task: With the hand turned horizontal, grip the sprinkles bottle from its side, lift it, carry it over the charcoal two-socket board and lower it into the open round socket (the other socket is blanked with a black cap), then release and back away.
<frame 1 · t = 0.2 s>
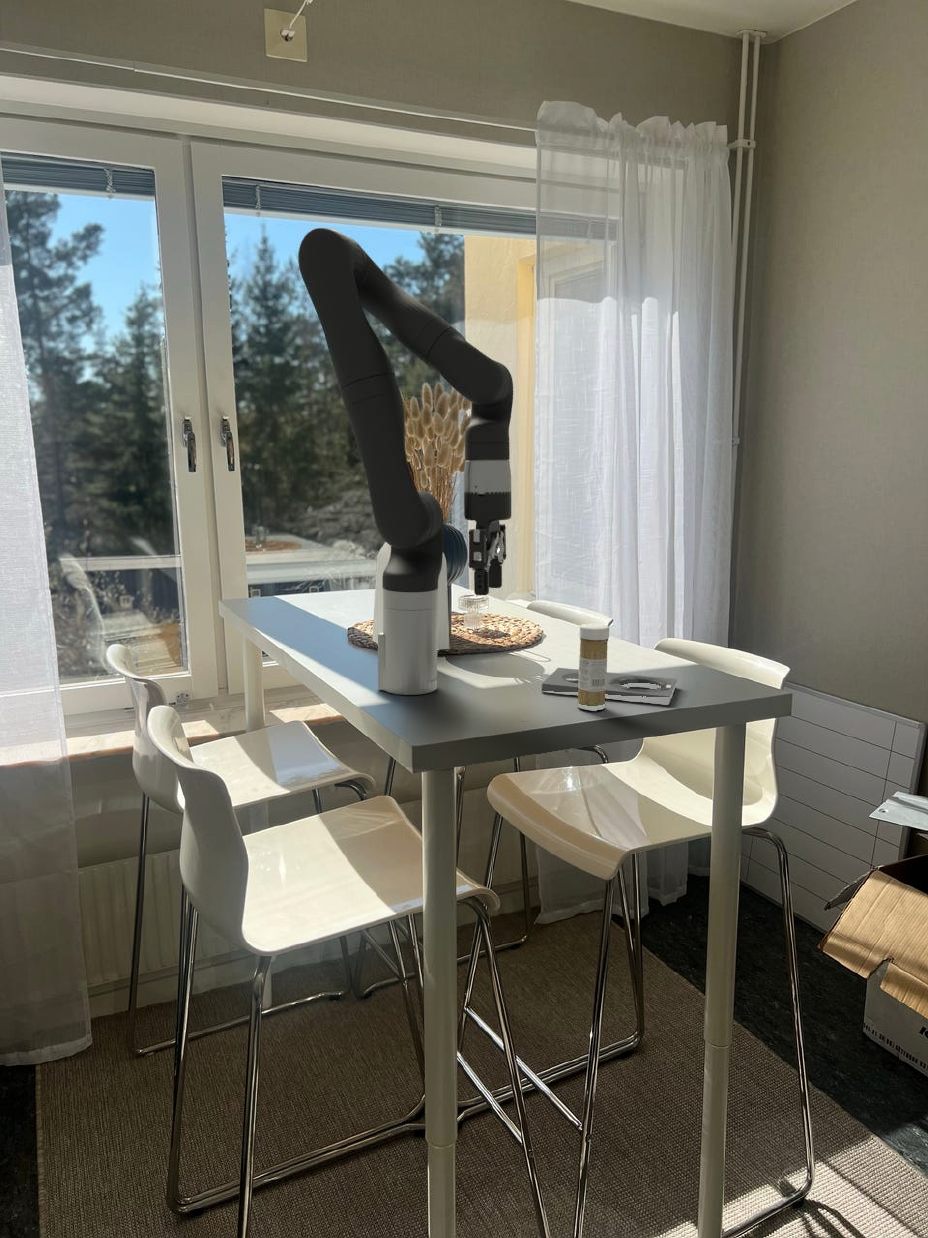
hand: (488, 591, 146), 18 cm above the table, tool pointing down, fingers open, 8 cm apart
milk: (410, 648, 186), on the table
sprinkles bottle: (590, 709, 144), on the table
socket board: (610, 690, 155), on the table
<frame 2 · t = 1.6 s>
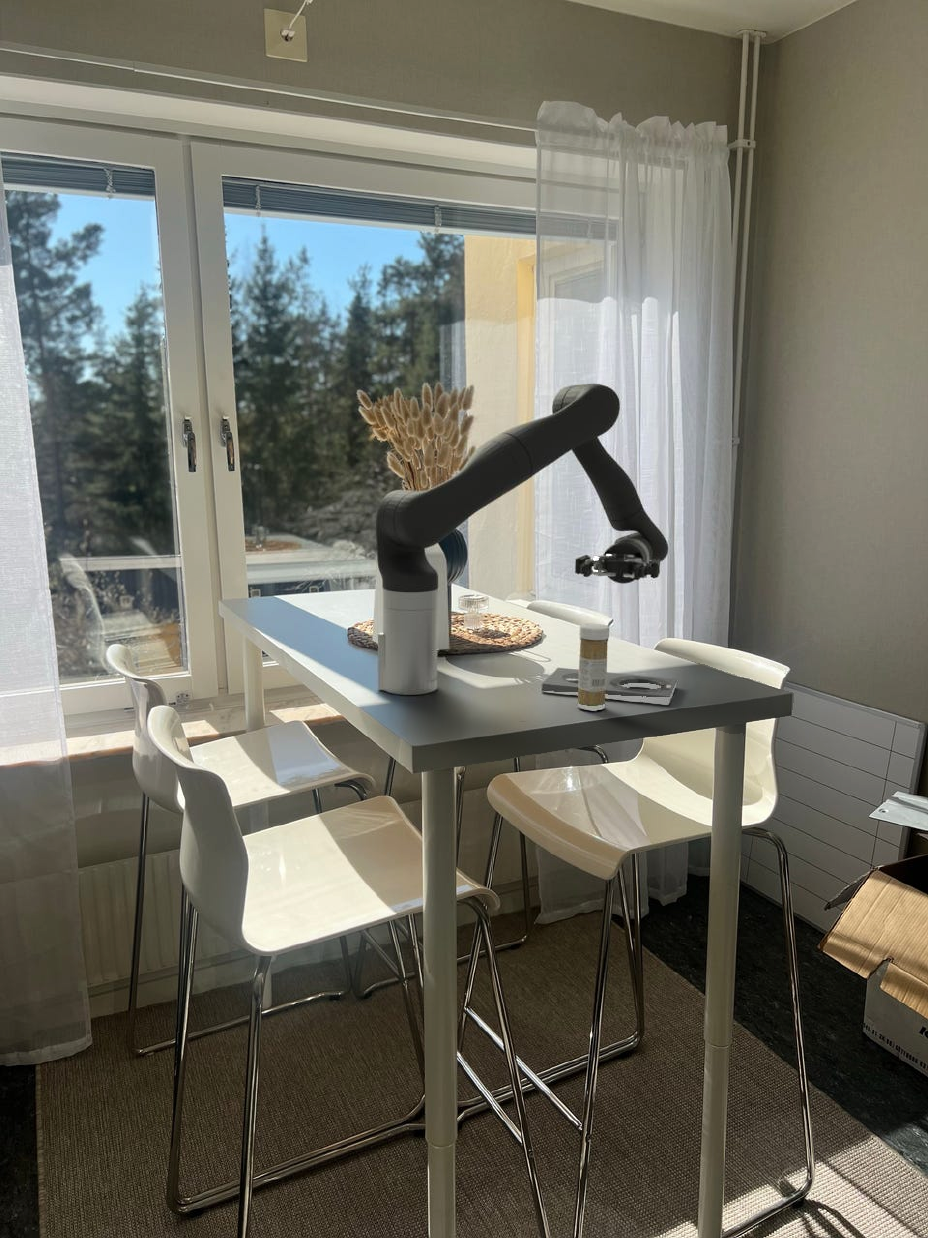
hand: (610, 572, 152), 20 cm above the table, tool horizontal, fingers open, 8 cm apart
nothing on the table moved.
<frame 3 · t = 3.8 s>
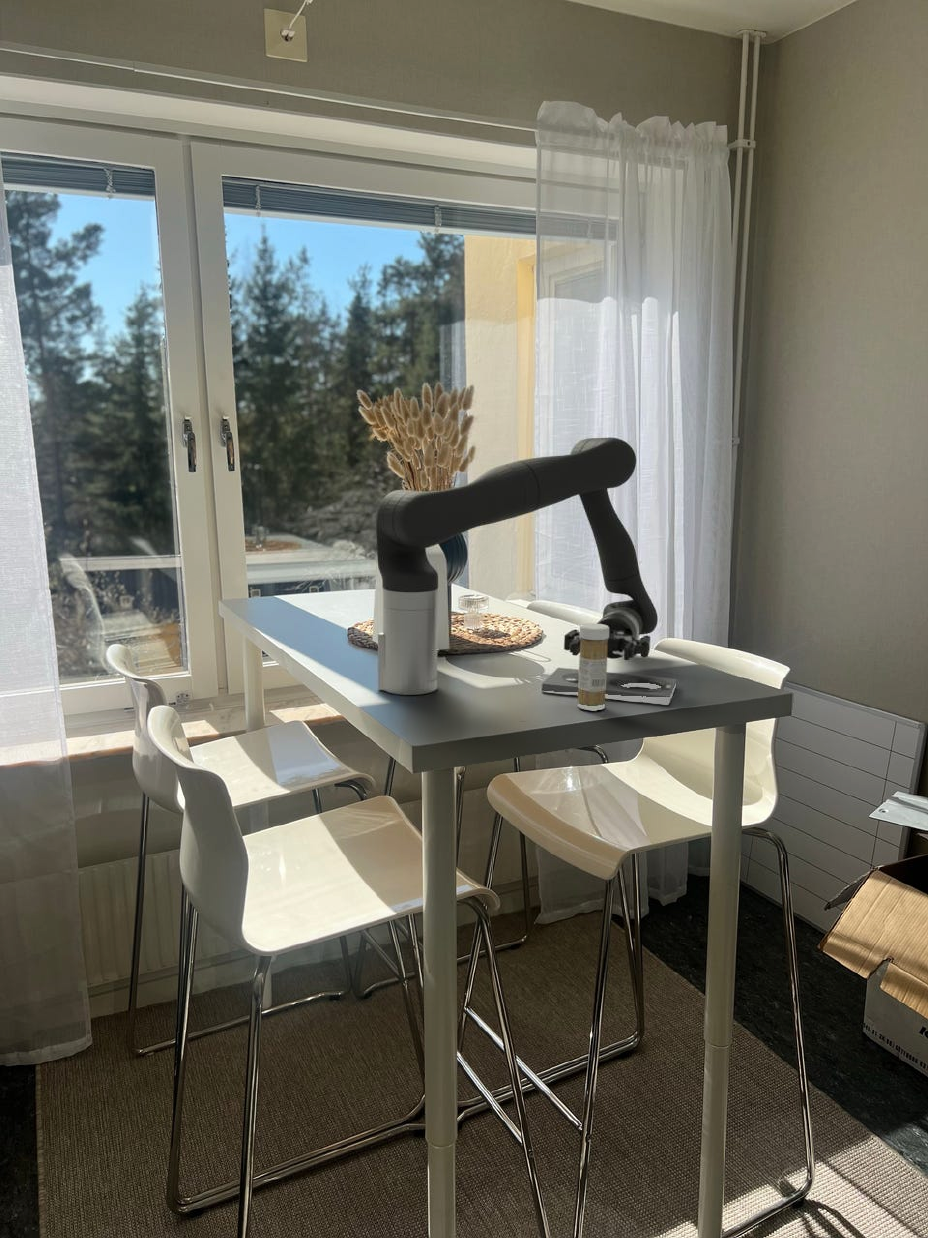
hand: (600, 651, 149), 8 cm above the table, tool horizontal, fingers open, 8 cm apart
nothing on the table moved.
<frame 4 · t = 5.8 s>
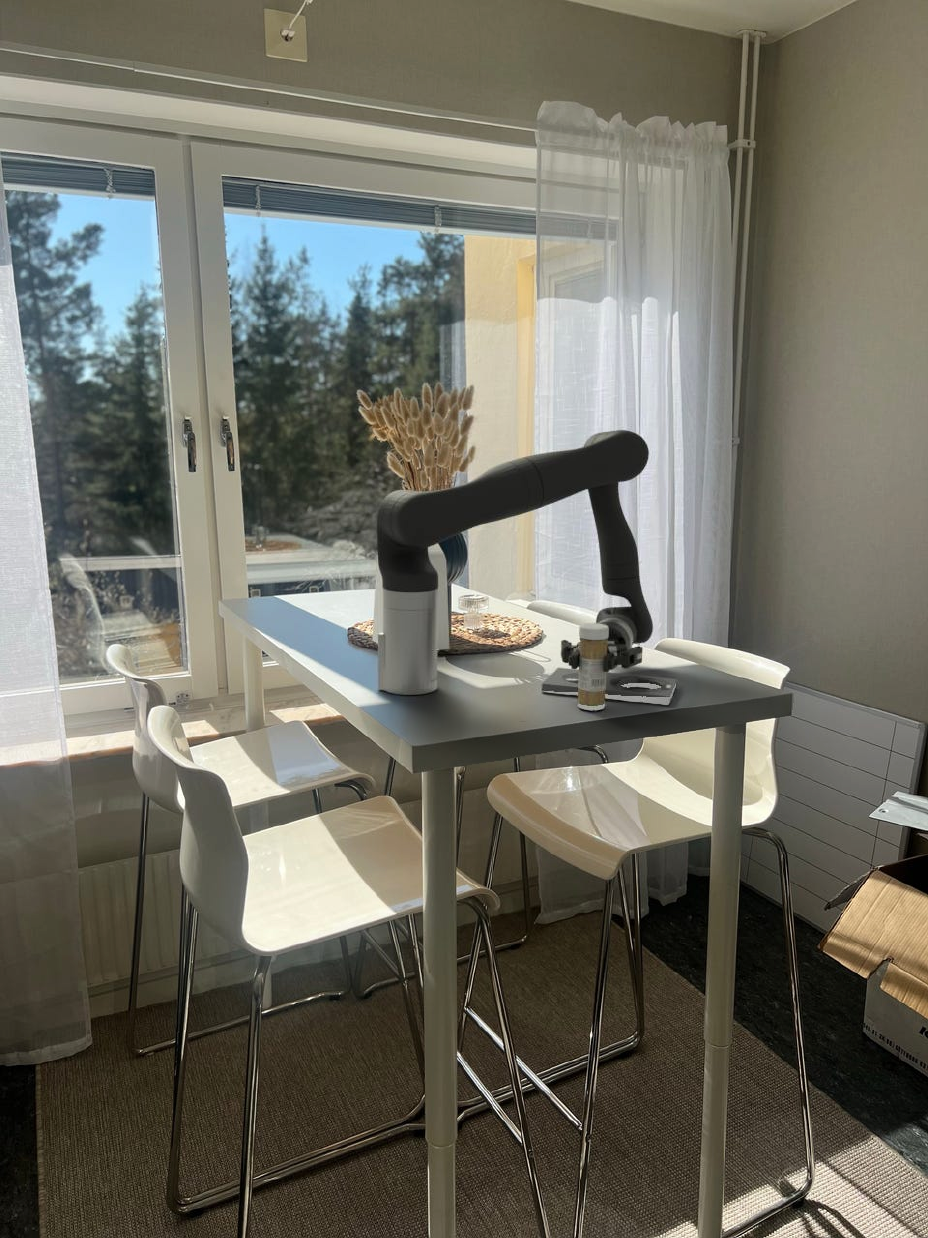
hand: (590, 664, 140), 8 cm above the table, tool horizontal, fingers closed on sprinkles bottle, 4 cm apart
sprinkles bottle: (590, 709, 144), on the table, touching gripper
everything else where it was.
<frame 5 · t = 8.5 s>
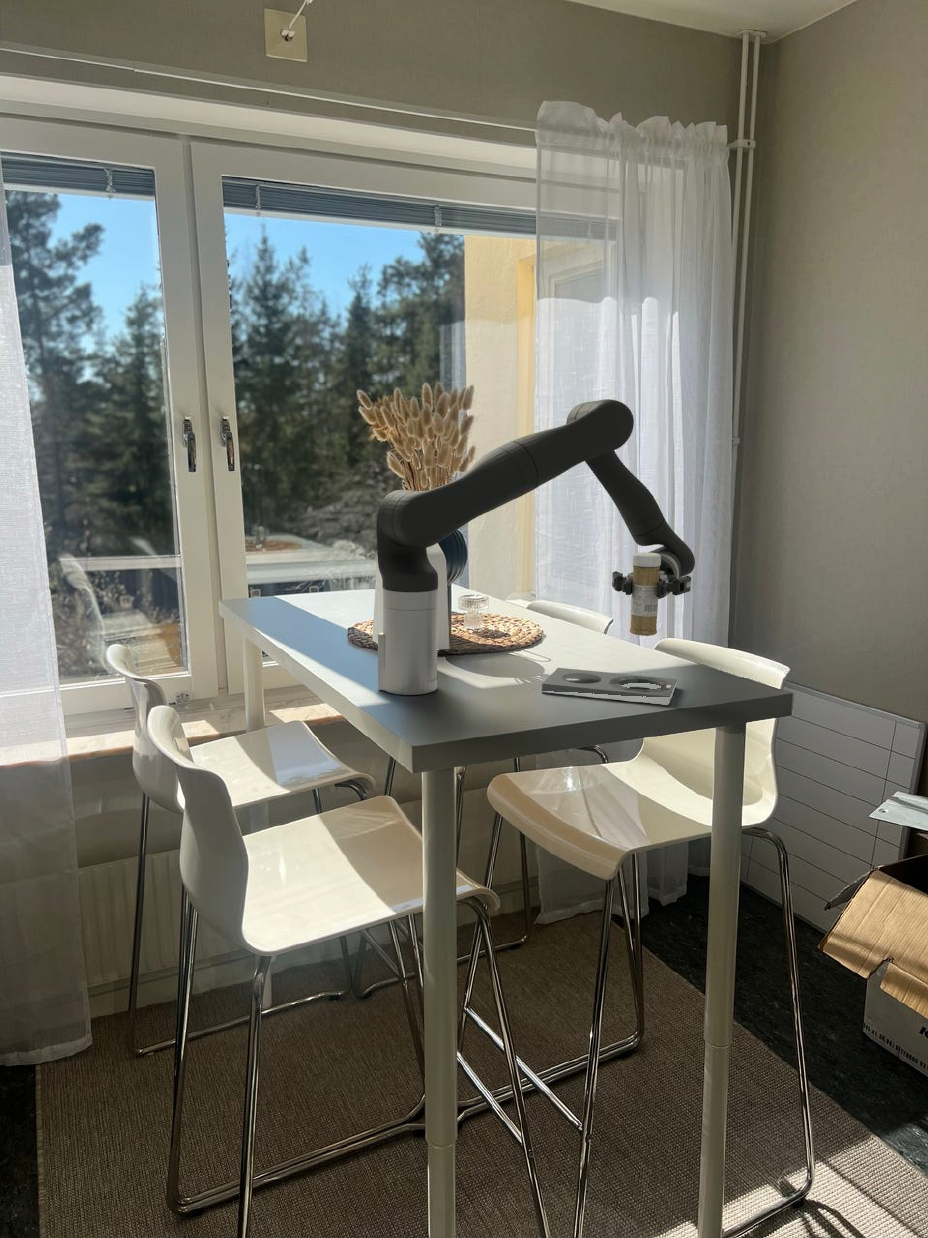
hand: (643, 589, 148), 18 cm above the table, tool horizontal, fingers closed on sprinkles bottle, 4 cm apart
sprinkles bottle: (642, 634, 152), point 10 cm above the table, touching gripper
everything else where it was.
when the fingers open (9 cm above the table, at t = 10.9 s): sprinkles bottle stays where it is, resting in socket board.
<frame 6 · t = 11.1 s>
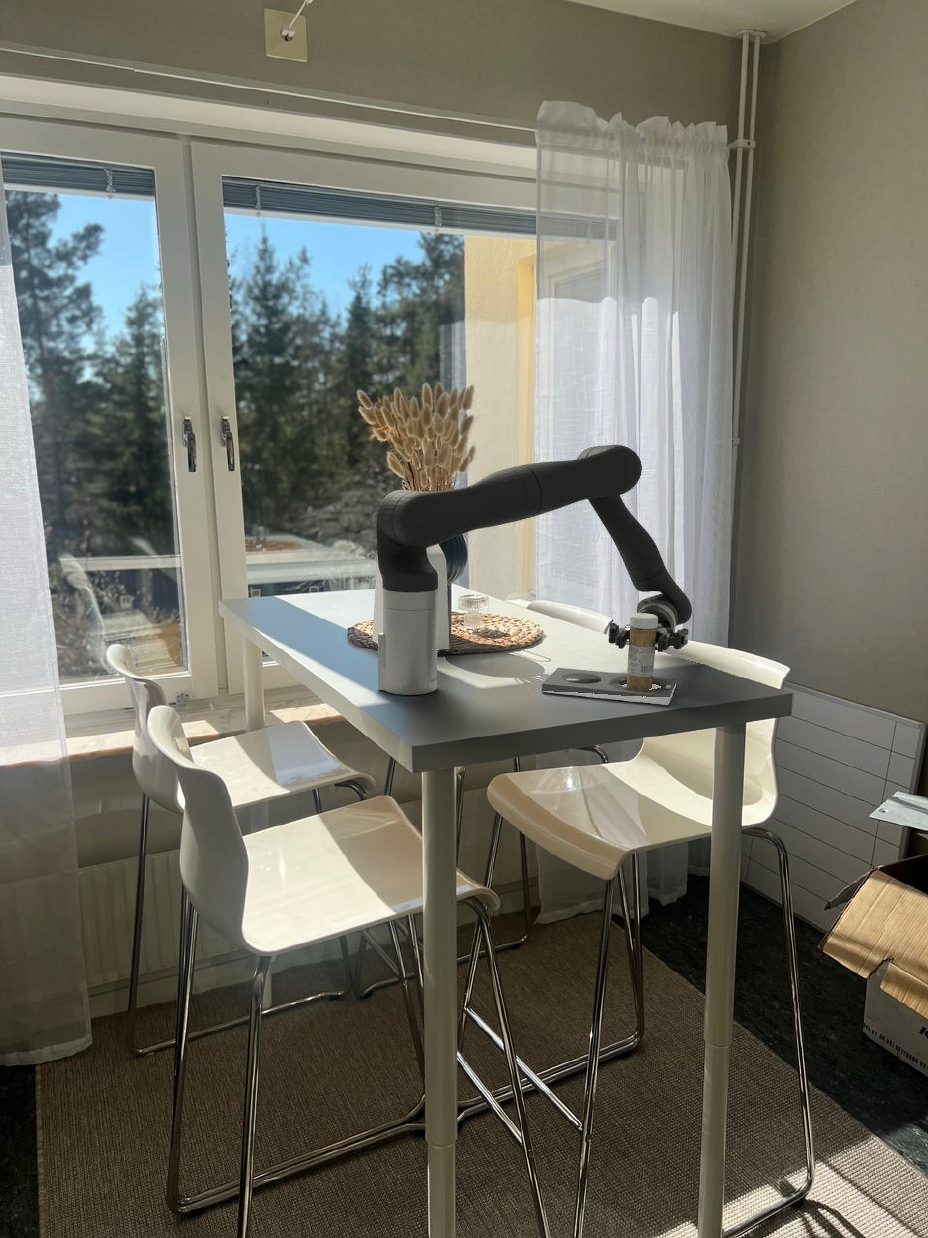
hand: (640, 644, 150), 9 cm above the table, tool horizontal, fingers open, 6 cm apart
sprinkles bottle: (638, 694, 154), resting in socket board
everything else where it was.
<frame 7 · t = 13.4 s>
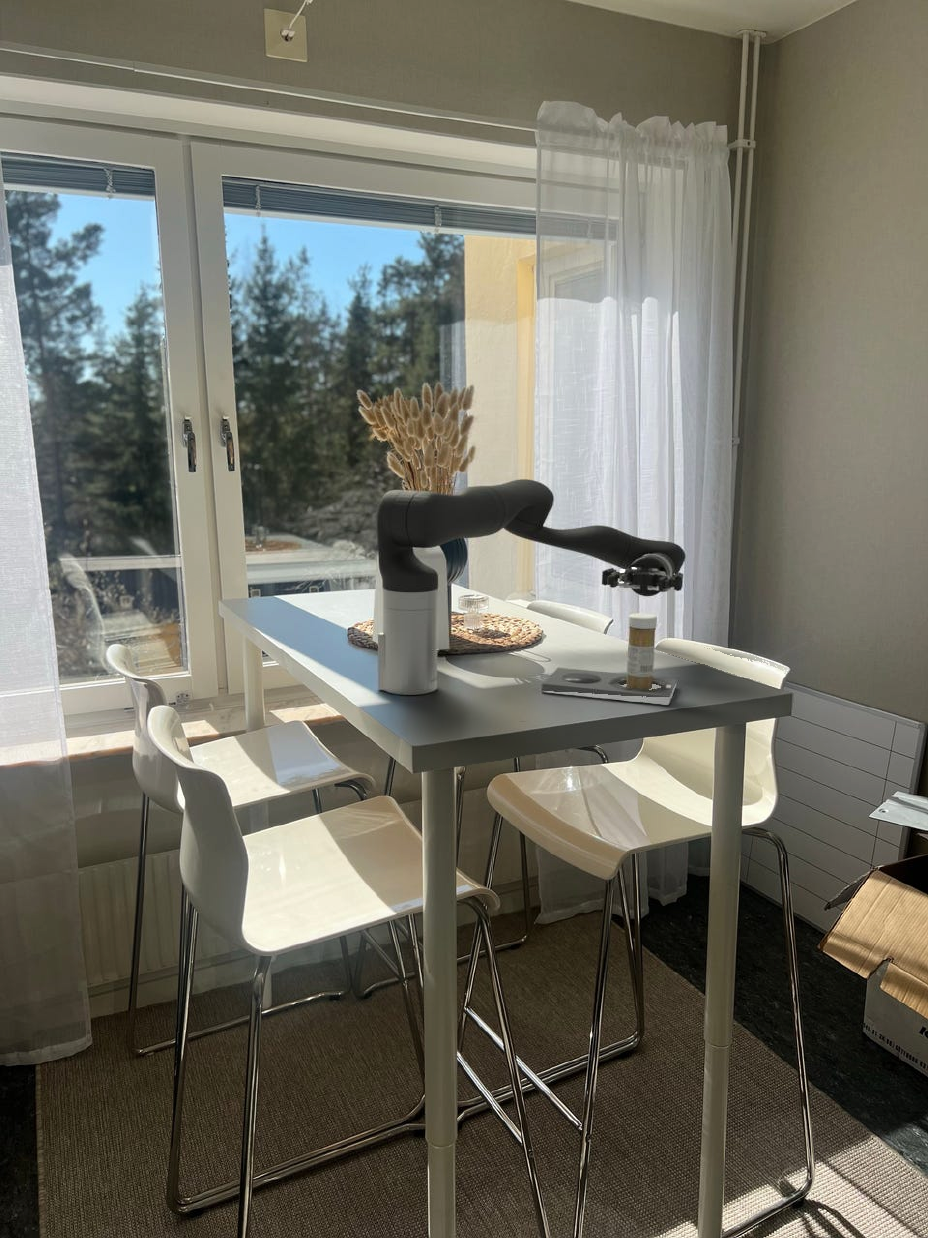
hand: (636, 583, 159), 17 cm above the table, tool horizontal, fingers open, 8 cm apart
nothing on the table moved.
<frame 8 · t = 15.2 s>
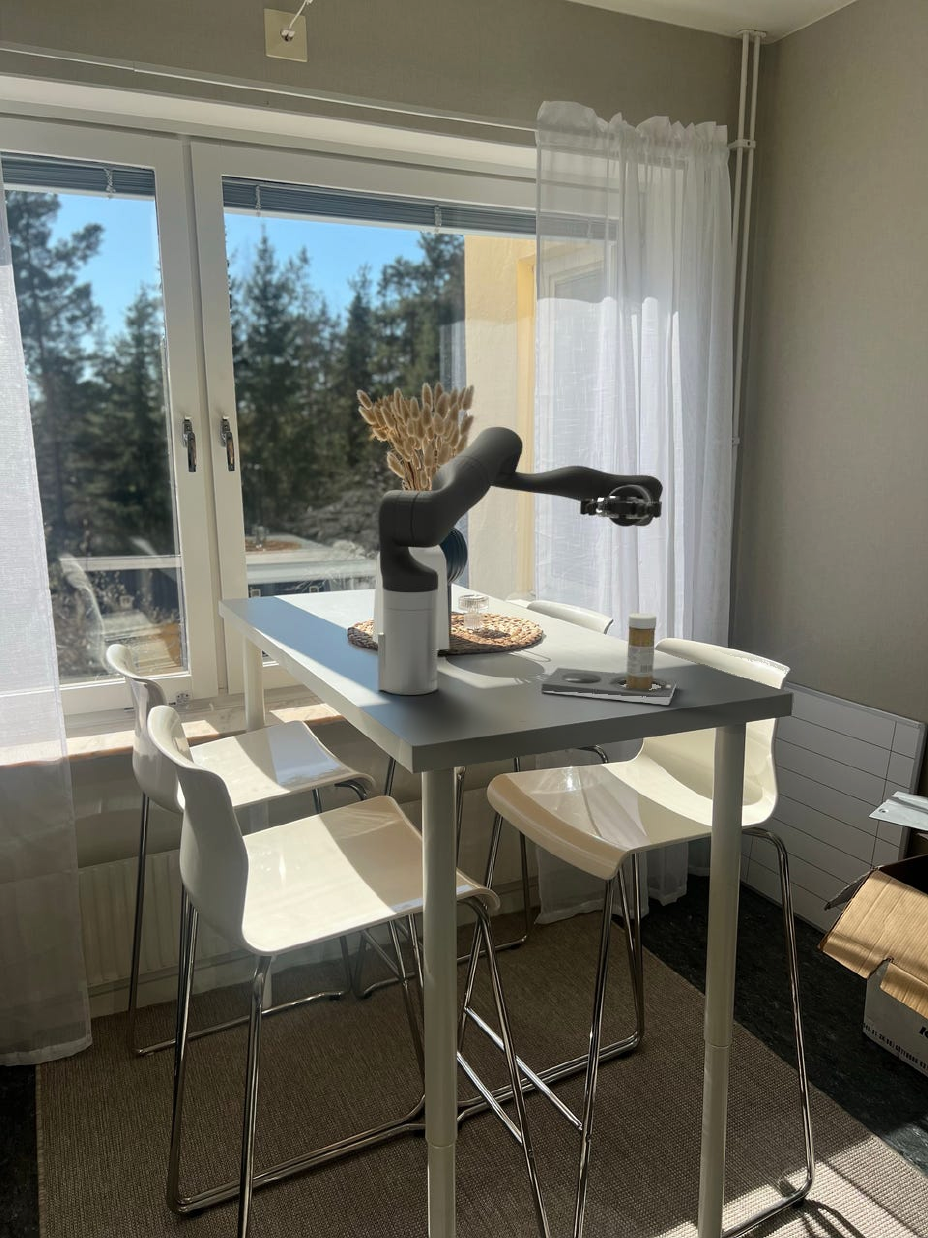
hand: (614, 510, 158), 30 cm above the table, tool horizontal, fingers open, 8 cm apart
nothing on the table moved.
at the end: sprinkles bottle 0.2 cm from the target spot in the socket board, point 0.0 cm above the socket board's base; sprinkles bottle tilted 0°; the gripper is holding nothing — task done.
